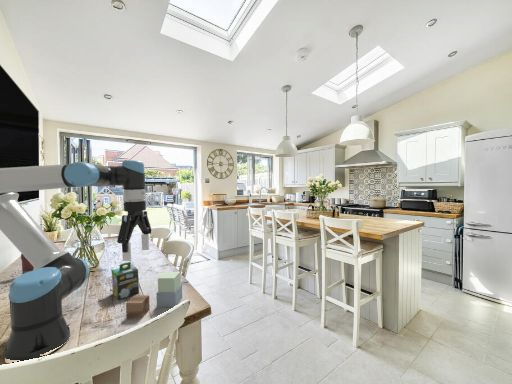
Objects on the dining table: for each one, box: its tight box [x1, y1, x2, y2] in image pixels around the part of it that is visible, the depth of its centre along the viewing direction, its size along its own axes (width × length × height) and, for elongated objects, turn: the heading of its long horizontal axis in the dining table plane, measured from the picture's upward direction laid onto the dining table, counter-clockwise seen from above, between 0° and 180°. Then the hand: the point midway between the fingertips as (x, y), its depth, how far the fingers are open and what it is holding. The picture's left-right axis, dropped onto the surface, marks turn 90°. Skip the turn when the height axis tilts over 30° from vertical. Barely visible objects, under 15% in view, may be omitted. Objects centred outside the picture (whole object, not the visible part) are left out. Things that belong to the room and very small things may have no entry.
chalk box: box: [111, 261, 140, 301], centre depth 107 cm, size 9×9×15 cm
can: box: [20, 253, 34, 275], centre depth 128 cm, size 6×6×14 cm
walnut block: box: [125, 294, 151, 319], centre depth 90 cm, size 6×6×6 cm
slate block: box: [155, 283, 183, 308], centre depth 99 cm, size 8×8×6 cm
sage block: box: [157, 271, 182, 292], centre depth 98 cm, size 7×7×6 cm
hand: (137, 254), depth 89 cm, fingers open, 13 cm apart
